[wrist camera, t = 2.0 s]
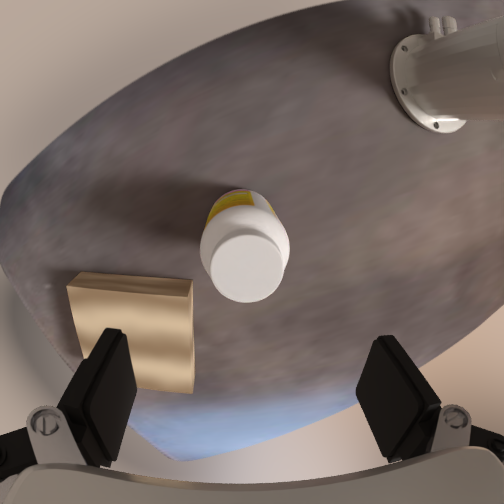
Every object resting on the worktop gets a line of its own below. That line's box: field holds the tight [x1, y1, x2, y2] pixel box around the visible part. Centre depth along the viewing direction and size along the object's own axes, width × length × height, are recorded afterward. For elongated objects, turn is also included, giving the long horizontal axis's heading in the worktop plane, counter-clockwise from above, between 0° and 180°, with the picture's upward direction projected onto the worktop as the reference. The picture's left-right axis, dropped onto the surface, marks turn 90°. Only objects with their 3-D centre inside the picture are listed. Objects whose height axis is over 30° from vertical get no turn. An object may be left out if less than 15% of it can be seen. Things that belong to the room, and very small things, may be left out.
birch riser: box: [66, 271, 195, 394], centre depth 32 cm, size 14×14×4 cm
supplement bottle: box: [200, 189, 290, 303], centre depth 25 cm, size 7×7×13 cm
